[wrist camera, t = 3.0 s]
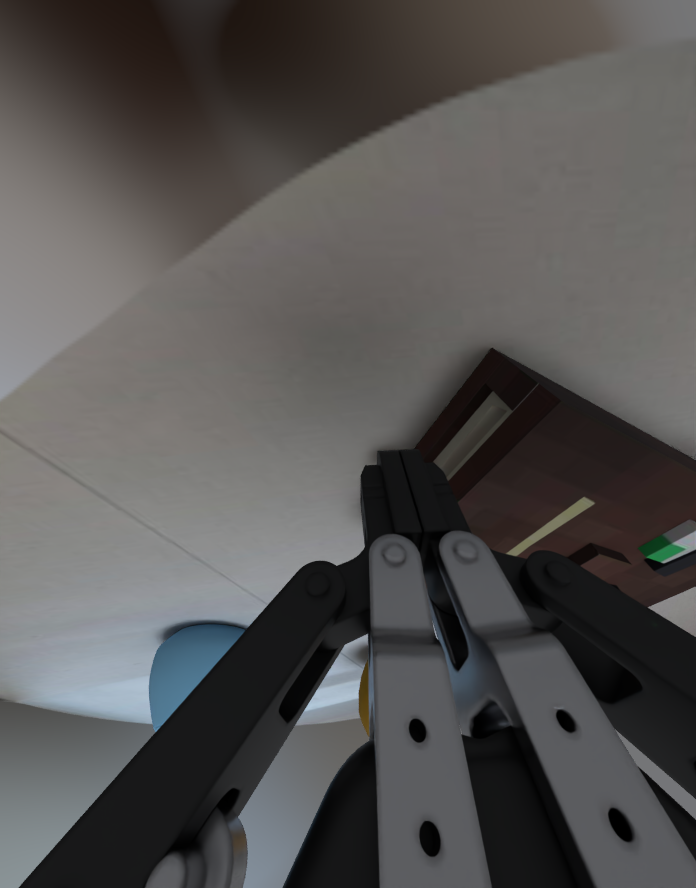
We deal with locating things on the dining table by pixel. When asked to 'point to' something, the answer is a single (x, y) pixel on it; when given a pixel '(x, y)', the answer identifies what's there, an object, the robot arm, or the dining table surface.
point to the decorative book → (567, 480)
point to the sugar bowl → (185, 665)
